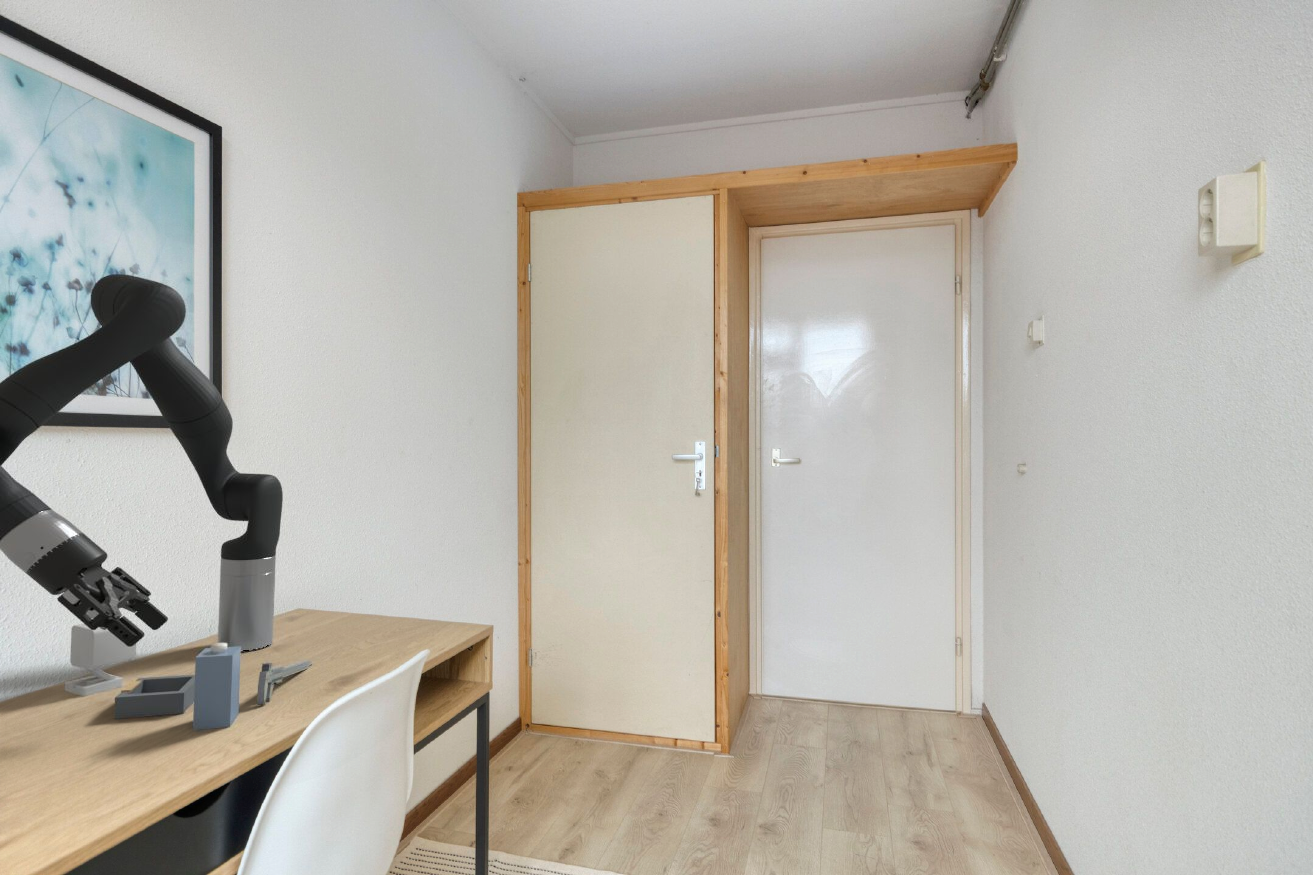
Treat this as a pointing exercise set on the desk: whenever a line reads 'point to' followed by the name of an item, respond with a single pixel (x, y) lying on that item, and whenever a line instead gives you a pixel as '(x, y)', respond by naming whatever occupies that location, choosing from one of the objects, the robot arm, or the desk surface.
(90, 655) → the security camera
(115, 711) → the pocket plate
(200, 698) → the blue gray block
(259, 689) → the caliper
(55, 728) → the desk surface
